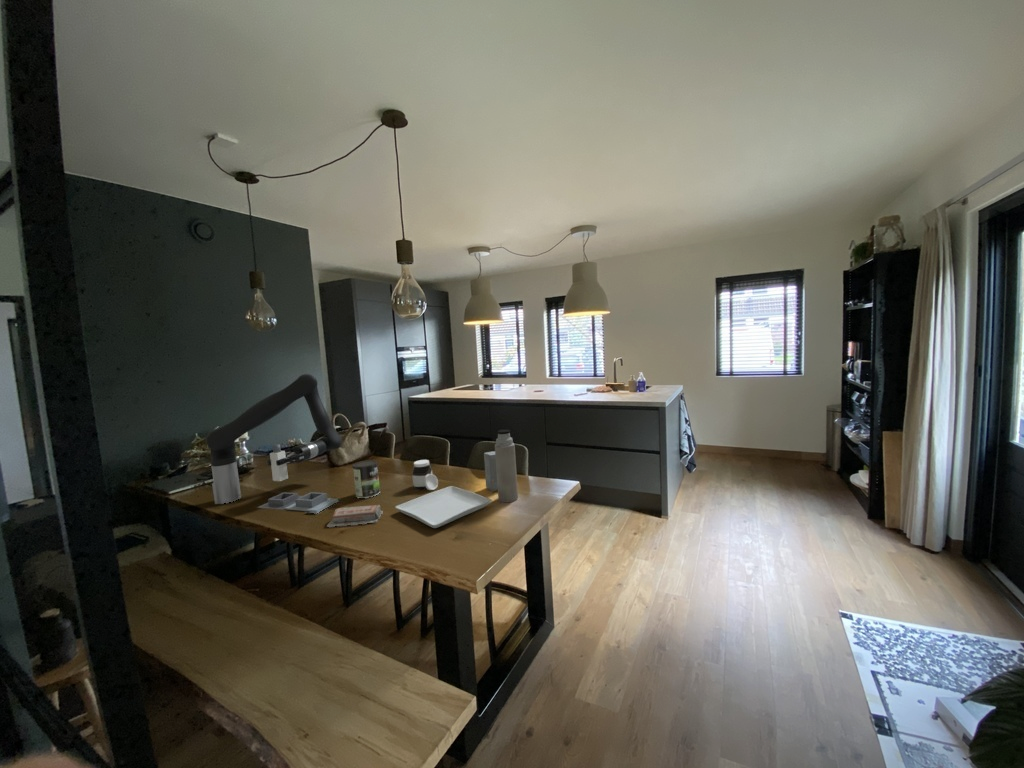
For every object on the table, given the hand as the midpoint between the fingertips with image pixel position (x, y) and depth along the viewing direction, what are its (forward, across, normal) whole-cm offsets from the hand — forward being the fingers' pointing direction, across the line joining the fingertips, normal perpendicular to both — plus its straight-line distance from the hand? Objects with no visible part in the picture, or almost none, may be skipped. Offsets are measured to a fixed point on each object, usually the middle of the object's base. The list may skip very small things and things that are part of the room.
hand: (273, 463), depth 169 cm
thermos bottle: (-23, +95, +18) cm, 100 cm away
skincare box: (-34, +87, +18) cm, 95 cm away
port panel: (-2, +16, +19) cm, 25 cm away
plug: (-3, 0, +8) cm, 8 cm away
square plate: (-7, +74, +19) cm, 77 cm away
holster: (-3, 0, +19) cm, 19 cm away
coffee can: (-18, +31, +19) cm, 41 cm away
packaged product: (+6, +44, +19) cm, 48 cm away
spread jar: (-30, +54, +19) cm, 65 cm away
